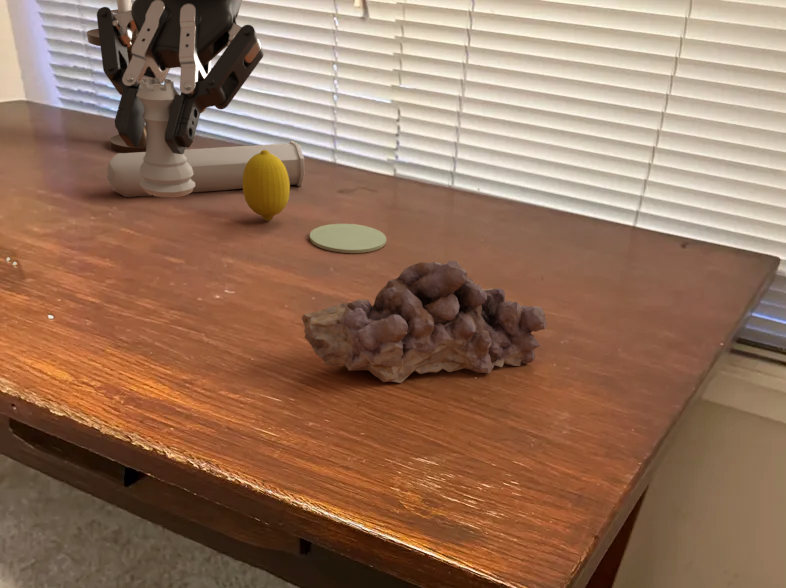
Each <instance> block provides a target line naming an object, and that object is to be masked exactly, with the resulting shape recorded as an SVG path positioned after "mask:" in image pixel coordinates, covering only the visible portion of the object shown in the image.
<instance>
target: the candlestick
mask: <svg viewBox="0 0 786 588" xmlns="http://www.w3.org/2000/svg"><path fill="white" fill-rule="evenodd" d="M132 4H133V3H132V0H116V5H117V9H110V10H111V12H112V13H113V14H118V13H122V12H126V11H130V10H131V8H132ZM138 34H139V32H138V30H137V29H136V30H135V31H134V32H133V33H132V39H131V41H130V42H131V43H132V45H131V46H130V47H127V52H128V60H129V63H130V61H131V59H132V53H131V50H132V46H133V44H134V42H135V40H136V38H137V36H138ZM86 37H87V42H88V43H89V44H90V45H93V46H97V47H101V46H100V38H99V30H98V28H93V29H89V30H87V31H86ZM109 141H110V148H111V150H113V151H116V152H118V153H136V152H146V124H145V125H144V129H143V132H142V136H141V140H140V143H139V146H138V147H130V146H127V145H126V143H125V142H124V141H123V139H122V138H121V137H120V135H119V134H116V135H114V136H112V137H110V139H109Z"/></svg>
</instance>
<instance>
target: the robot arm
mask: <svg viewBox="0 0 786 588" xmlns="http://www.w3.org/2000/svg"><path fill="white" fill-rule="evenodd" d="M242 1H243V0H134V1H133V3H131V4H132V8H131V10H130V11H126V12H122V13H114V12H111V10H112V9H111V8H109V7H108V6H102V7H100V8H99V9H98V10H97V11H96V21H97V29H98V30H99V38H100V46H99V47H100V53H101V61H102V71H103V73H104V74H105V75H106V77H107V78H108V80H109V82H110V83H111V84H112V86H113V87H114V88H115V90H116V91H117V93H118V94H119V95H121V96H120V100H119V103H118V107H117V111H116V115H115V117H114V127H115V129H116V130H117V132H118V135H120V137H121V138H122V139H123V141H124V142H125V143H126V145H127V146H130V147H138V146H139V143H140V140H141V136H142V132H143V129H144V125H145V126H146V124H145V120H144V119H143V118H142V115H143V113H144V106H143V104H142V102H141V101H140V100H139V99H138V97H137V96H136V95H137V92H138V91H139V89H140V80H143V79H145V78H149V79H150V84H154V78H160V80H161V84H164V79H167V76H168V74H169V72H170V70H171V69H174V68H180V75H179V76H180V77H179V90H180V94H179V95H177V94H175V98H174V101H173V105H172V109H171V113H170V116H169V120H168V124H167V127H166V131H165V142H166V143H167V145H168V146H169V148H170V149H171V151H172V152H173V153H176V154H183V153H184V151H185V150H186V148H187V149H190V147H191V145H192V144H193V143H194V139H195V135H196V132H197V128H198V125H199V124H198V123H199V120H200V116H201V114H202V113H204V112H205V111H206V109H207V108H211V107H215V109H217V110H224V109H226V108H228V106H229V105H230V104H231V103H232V101H233V99H234V98H235V96H236V95H237V94H238V92H239V91H240V90H241V88H242V87H243V85H244V84H245V83H246V81H247V80H248V79H249V77H250V76H251V74H252V73H253V72H254V70H255V69H256V67H257V66H258V65H259V63H260V62H261V60H262V59H263V57H264V55H265V52H264V49H263V46H262V44H261V41H260V38H259V36H258V33H257V32H256V29H255V27H254V26H253V25H251V24H244V25H243V26H241V25H239V24H237V21H236V20H237V18H238V16H239V13H240V9H241V5H242ZM136 29H137V30H138V32H139V34H138V36H137V38H136V40H135V42H134V44H133V46H132V50H131V53H132V59H131V61H130V63H129V60H128V52H127V47H130V46H131V45H132V43H131V42H130V41H131V39H132V33H133V32H134V31H135V30H136ZM224 49H225V50H224ZM223 50H224V51H223ZM222 51H223V52H222ZM221 52H222V54H221V55H220V56H219V58H218V59H217V61H216V62H215V63H214V65H213V66H212V60H213V59H215V58H216V57H217V56H218V55H219V54H220V53H221Z"/></svg>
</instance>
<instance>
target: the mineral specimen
mask: <svg viewBox="0 0 786 588" xmlns="http://www.w3.org/2000/svg"><path fill="white" fill-rule="evenodd" d="M301 320H302V323H303V326H304V328H303V329H304V330H303V333H304V339H305V340H306V341H307V342H308V343H309V345H310V346H311V348H312V350H313V352H314V353H315V354H316V356H318V358H320V359H321V360H322V361H324V364H325V365H328V366H331V367H334V366H335V367H336V366H339V365H345V367H346V368H347V370H348V371H349V372H351V371H352V372H353V371H369V373H370V374H371V375H373V376H374V377H376V378H378V379H379V380H380V381H381V382H382V383H389V382H393V383H399V384H402V383H403V382H404V381H405V380H407V378H408V377H409V376H410V375H411V374H412V373H417V374H419V375H423V374H426V373H438V372H440V371H442V370H445V371H447V372H448V373H452V372H455V371H456V372H457V371H460V370H463V369H466V370H471V371H473V372H475V373H477V374H490V373H491V372H492V371H493V369H494V367H495V366H496V367H499V368H503V366H504V364H506V365H510V366H515V367H520V366H521V365H522V364H523V362H524V363H526V364H531V363H533V362H535V359H536V354H535V353H536V351H535V349H537V348H538V347H540V346H541V345H540V342H539V341H538V340H537V339H536V337H535V335H534V334H533V333H534V332H535V333H536V332H539V331H542V330H546V329H547V326H548V321H547V318H546V313H545V311H544V309H543V308H542V307H541V306H537V305H530V306H527V305H525V304H524V305H521V304H519V303H518V302H516V301H512V300H506V291H505V289H503V288H500V287H496V288H483V287H482V286H481V285H480V284H477V283H475V282H474V279H472V278H470V277H468V271H467V270H466V269H465V268H464V267H462V266H461V264H460V263H459V261H457V260H449V261H448V262H447V263H444V264H443V263H442V262H436V261H431V262H418V263H414V264H411V265H409V266H408V267H405V268H404V269H403V270H402V272H401V273H400V274H399V276H398V277H397V278H393V279H389V280H388V281H387V283H386V285H384V286H383V287H382V288H381V289H380V290H379V291H378V293H377V294H376V296H375V299H374V303H373V304H371V302H370V301H369V299H356V300H353V301H352V302H347V303H339V304H336V305H334V306H330V307H328V308H327V307H326V308H323V309H321V310H317V311H312V312H308V313H304V314H303V315H302V316H301ZM491 357H492V358H495V359H496V360H494V361H493V362H492V358H491Z"/></svg>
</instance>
